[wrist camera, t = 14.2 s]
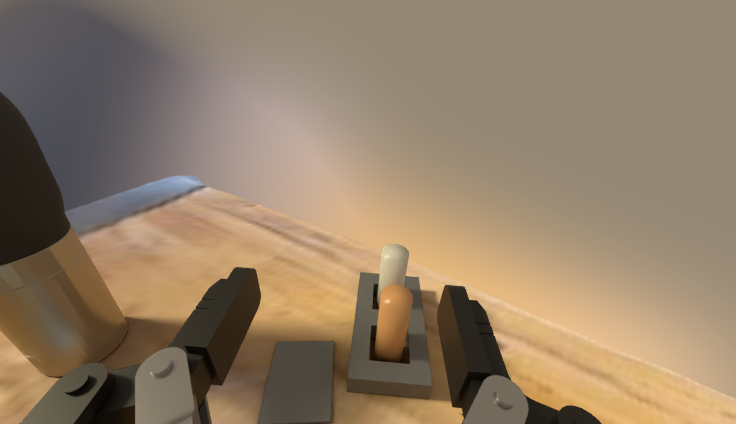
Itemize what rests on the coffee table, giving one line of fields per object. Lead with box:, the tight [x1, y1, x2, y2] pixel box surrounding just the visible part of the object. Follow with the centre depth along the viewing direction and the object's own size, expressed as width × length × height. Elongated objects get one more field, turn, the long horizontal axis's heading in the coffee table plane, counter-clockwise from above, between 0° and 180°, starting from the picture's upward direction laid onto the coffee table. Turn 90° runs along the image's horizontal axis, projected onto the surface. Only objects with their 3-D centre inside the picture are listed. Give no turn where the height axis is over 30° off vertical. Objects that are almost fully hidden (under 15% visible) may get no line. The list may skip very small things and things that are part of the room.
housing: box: [347, 244, 432, 399], centre depth 40 cm, size 10×18×12 cm, turn 176°
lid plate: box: [257, 341, 334, 424], centre depth 36 cm, size 8×10×1 cm
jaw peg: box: [374, 284, 413, 363], centre depth 36 cm, size 4×4×12 cm
